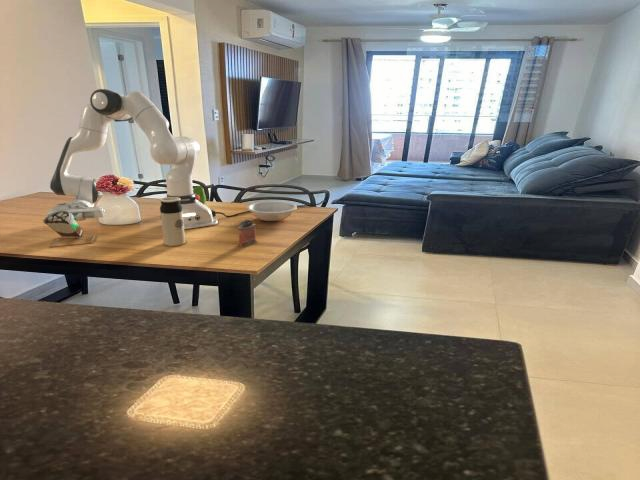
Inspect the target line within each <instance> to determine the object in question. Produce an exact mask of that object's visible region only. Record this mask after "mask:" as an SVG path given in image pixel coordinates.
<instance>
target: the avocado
mask: <svg viewBox="0 0 640 480" xmlns="http://www.w3.org/2000/svg"><path fill="white" fill-rule="evenodd" d="M193 193H196V194H197V195H199V196H200V200H198V201H199V202H201V203H202V204H204V205H206V201H207V196H206V193H205V190H204V188H203V187H202V186H201V185H195V186H193Z"/></svg>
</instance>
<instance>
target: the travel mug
mask: <svg viewBox="0 0 640 480" xmlns="http://www.w3.org/2000/svg"><path fill="white" fill-rule="evenodd" d="M180 200H181V199H180V198H179V197H167V196H166V197H165V196H164V197H162V198H159V202H160V204H161V205H160V207H159V213H160V220H161V228H162V229H161V230H162V239H163V245H166V246H168V247H177V246H181V245H183V244H185V243H186V234H185V229H184V222H183V212H182V206H181V204H180Z"/></svg>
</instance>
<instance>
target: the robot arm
mask: <svg viewBox="0 0 640 480" xmlns="http://www.w3.org/2000/svg"><path fill="white" fill-rule="evenodd" d="M89 102H90V103H88V104H85V105H84V106H83V108H82V111H81V114H80V117H79V122H78V128H77V131H76V133H75V134H74V135H73V136H70V137H68V139H66V141H65V144H64V146H63V149H62V151H61V154H60V156H59V159H58V162H57V165H56V168H55V170H54V173H53V175H52V176H51V178H50V181H49V188H50V190H51V191H52V192H53V193H54V194H55V195H57V196H65V197H66V196H68V197H72V198H73V197H74V199H73V200H72V201H69V202H65V203H64V202H63V203H58V204H55V205H54V207H52V208H50V209H49V210H48V211H47V216H49V215H50V214H52V213H54V212H57V211H62V210H63V211H67V212H69V213H71V214H72V215H73V216H74V220H75V221H76V222H77V221H78V222H82V221H86V220H89V219H101V218H104V217H105V212H106V211H107V210H106V208H104V207H103V206H95V203H96V202H98V200H99V196H100V192H98V191H97V190H96V183H97V182H98V181H97V180H96V179H95V178H93V177H87V176H82V175H76V174H71V173H68V171H69V168H70V165H71V163H72V159H73V157H74V156H75V155H76V154H78V153H82V152H91V151H96V150H99V149H101V148H103V147H104V146H105V144H106V141H107V137H108V131H109V126H110V123H111V122H113V121H114V122H115V123H118V122H129V121H132V120H133V121H134V122H135V124H137V126H138V127H139V128H140V130H141V131H142V132H143V133H144V134H145V135H146V137H147V139H148V141H149V143H150V147H149V153H150V156H151V158H152V159H153V161H154V162H155V163H156V164H159V165H167V166H169V165H170V169H169V171H168V173H167V174H166V176H165V184H166V192H167V194H166V197H179V198H180V199H181V200H180V204H181V206H182V212H183V222H184V230H189V229H197V228H203V227H210V226H216V225H218V224H219V222H218V218H217V217H216V216H217V215H216V214H219V215H223V216H224V217H225V218H232V217H236V216H239V215H242V214H247V213H252V212H251V211H249V210H245V211H241V212H237V213H234V214H231V215H228V214H225V213H224V212H220V211H215V210H213V209H210V207H209V206H207V205H206V204H205V205H204V204H202V203H201V202H199V201H198V200H200V196H199V195H197V194H196V193H193V189H194V184H193V173H194V167H195V162H196V160H197V157H198V156H199V154H200V144H199V143H198V142H197V140H195V139H194V138H192V137H189V136H174V135H172V133H171V131H170V129H169V128H170V122H169V120H168V119H167V118H166V116H165V115H164V114H163V113H162V112H161V111H160V110H159V108H158V106H156V105H155V103H153V101H152V100H151V99H149V98H148V97H147V96H146V95H145V94H144V93H142V92H140V91H137V90H133V91H131V92H129V93H127V94H126V95H122V94H121V93H118V92H116V91H113V90H110V89H106V88H98V89H95V90H94V91H93V92H92V93H91V95H90V97H89ZM323 202H324V203H327V201H326V200H324V199H323V200H321V201H320V202H318V203H314V204H313V203H312V204H300V205H296V206H297V208H301V207H312V206H313V207H314V206H319V205H321V204H323ZM47 216H46V217H47Z"/></svg>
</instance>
